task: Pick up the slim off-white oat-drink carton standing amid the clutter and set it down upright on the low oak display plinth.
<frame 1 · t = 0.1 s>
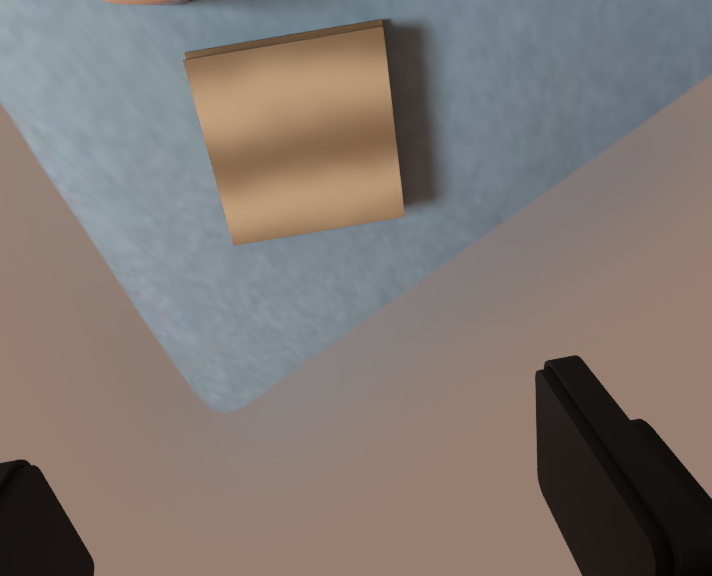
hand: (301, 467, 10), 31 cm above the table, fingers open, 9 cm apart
plinth: (302, 135, 38), on the table
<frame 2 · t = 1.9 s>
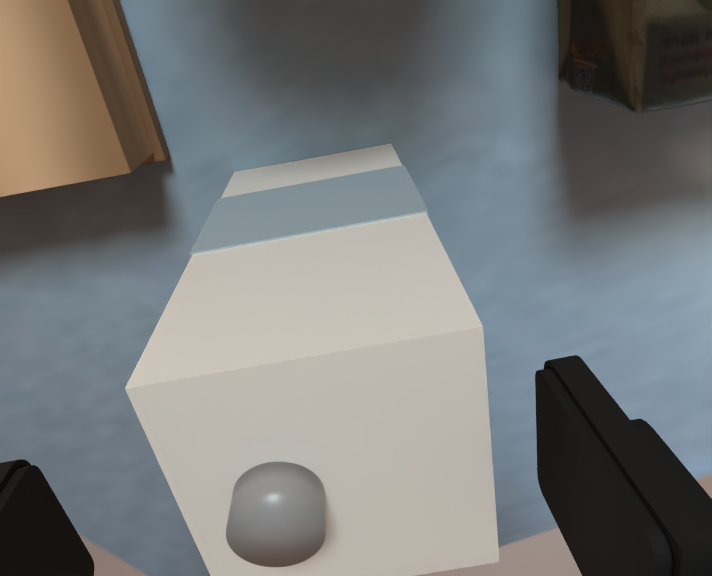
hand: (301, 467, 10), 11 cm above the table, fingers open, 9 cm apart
slim carton: (327, 231, 20), on the table
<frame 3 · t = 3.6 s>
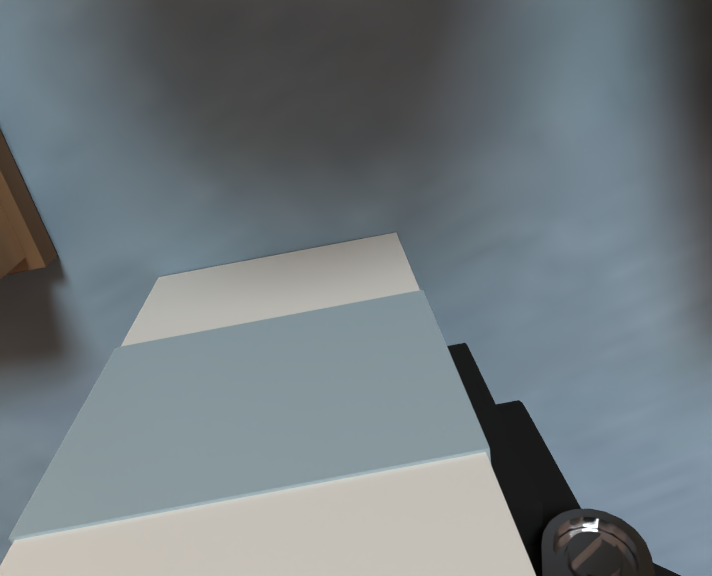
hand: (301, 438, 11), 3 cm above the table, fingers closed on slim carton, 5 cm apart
slim carton: (302, 353, 14), on the table, touching gripper
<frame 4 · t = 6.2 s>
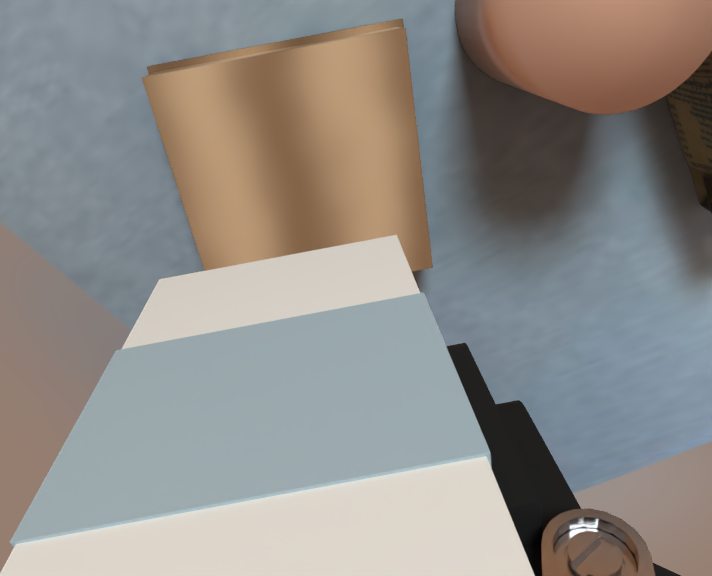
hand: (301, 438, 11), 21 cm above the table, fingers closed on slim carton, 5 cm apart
plinth: (302, 166, 30), on the table
slim carton: (303, 355, 14), point 18 cm above the table, touching gripper
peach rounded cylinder: (534, 0, 27), on the table
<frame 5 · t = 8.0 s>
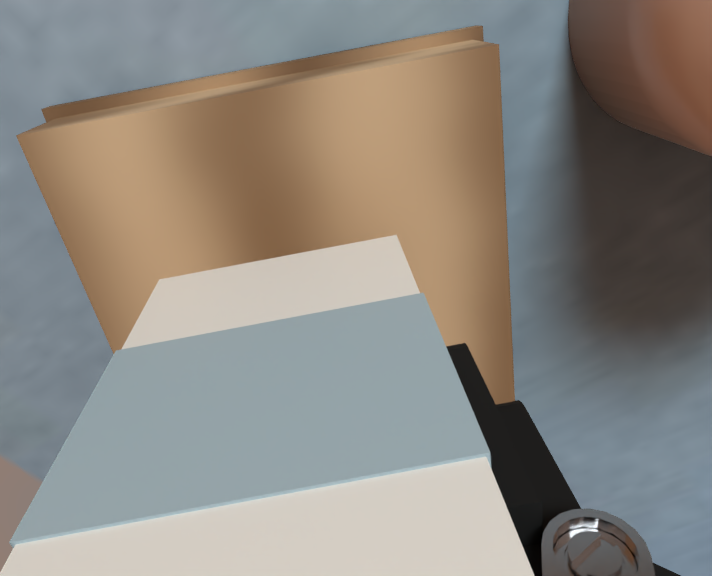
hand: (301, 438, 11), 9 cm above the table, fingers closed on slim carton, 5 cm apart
plinth: (307, 260, 19), on the table
slim carton: (303, 355, 14), point 6 cm above the table, touching gripper
when the fingers open (7 cm above the table, at t = 9.2 s): slim carton stays where it is, resting on plinth.
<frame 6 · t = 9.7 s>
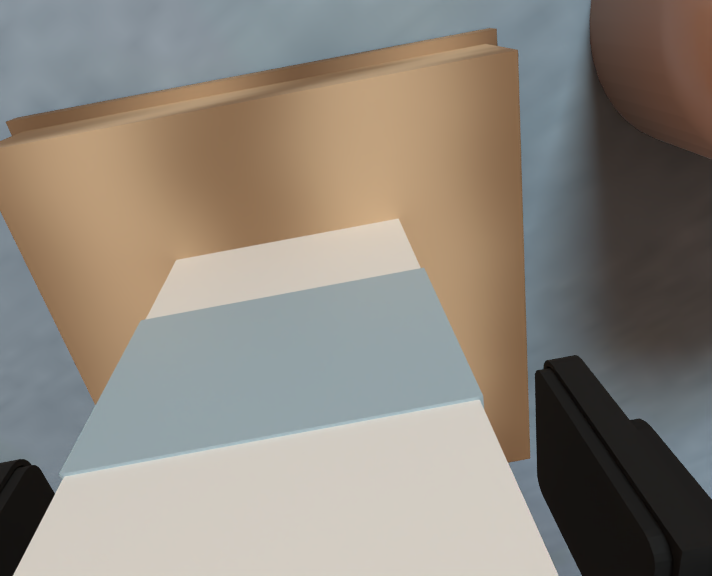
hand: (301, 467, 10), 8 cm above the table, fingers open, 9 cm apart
plinth: (303, 284, 17), on the table
slim carton: (310, 333, 15), point 3 cm above the table, touching plinth
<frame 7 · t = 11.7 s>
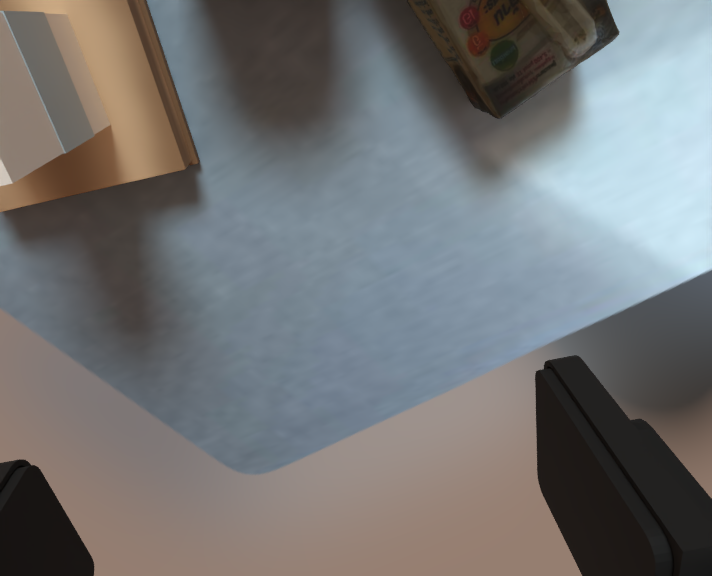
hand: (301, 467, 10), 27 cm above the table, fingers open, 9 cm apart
plinth: (55, 78, 31), on the table
slim carton: (37, 83, 29), point 3 cm above the table, touching plinth
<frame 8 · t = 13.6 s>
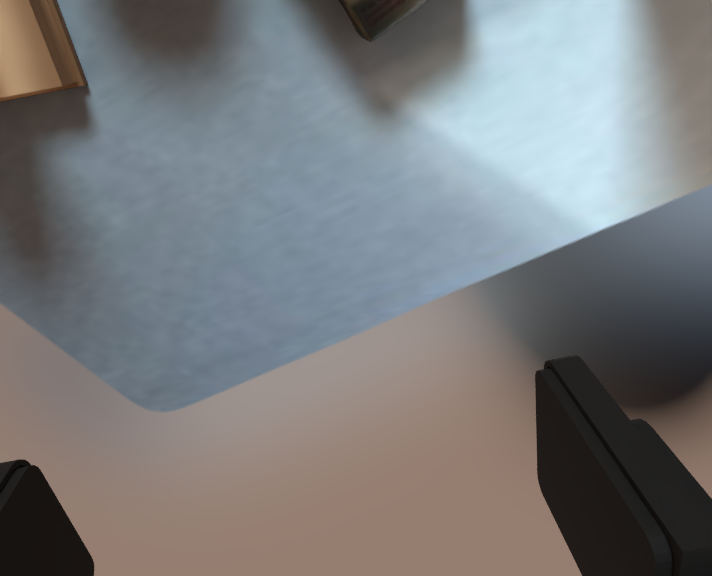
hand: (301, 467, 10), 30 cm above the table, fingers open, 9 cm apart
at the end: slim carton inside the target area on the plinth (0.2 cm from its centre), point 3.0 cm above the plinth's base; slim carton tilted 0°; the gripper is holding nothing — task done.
